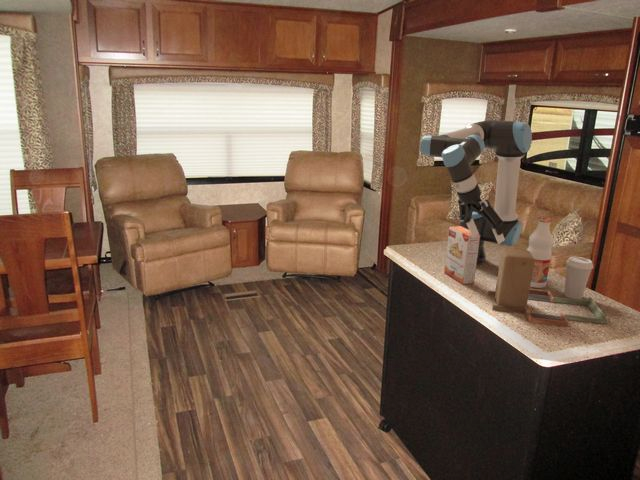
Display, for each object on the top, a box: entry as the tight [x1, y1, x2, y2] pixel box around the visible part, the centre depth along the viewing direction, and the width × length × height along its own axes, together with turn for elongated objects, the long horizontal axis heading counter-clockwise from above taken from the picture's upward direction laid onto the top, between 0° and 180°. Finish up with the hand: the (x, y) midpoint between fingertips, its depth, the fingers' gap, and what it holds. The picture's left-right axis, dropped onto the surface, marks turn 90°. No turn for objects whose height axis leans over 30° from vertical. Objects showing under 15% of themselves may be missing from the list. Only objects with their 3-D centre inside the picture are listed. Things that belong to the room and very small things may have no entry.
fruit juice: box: [526, 216, 554, 289], centre depth 200 cm, size 9×9×28 cm
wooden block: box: [494, 248, 535, 309], centre depth 181 cm, size 10×10×20 cm
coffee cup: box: [563, 256, 594, 300], centre depth 191 cm, size 10×10×15 cm
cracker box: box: [444, 225, 480, 285], centre depth 204 cm, size 14×6×21 cm, turn 18°
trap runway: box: [487, 288, 607, 328], centre depth 181 cm, size 29×37×3 cm
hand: (488, 238), depth 179 cm, fingers open, 13 cm apart
